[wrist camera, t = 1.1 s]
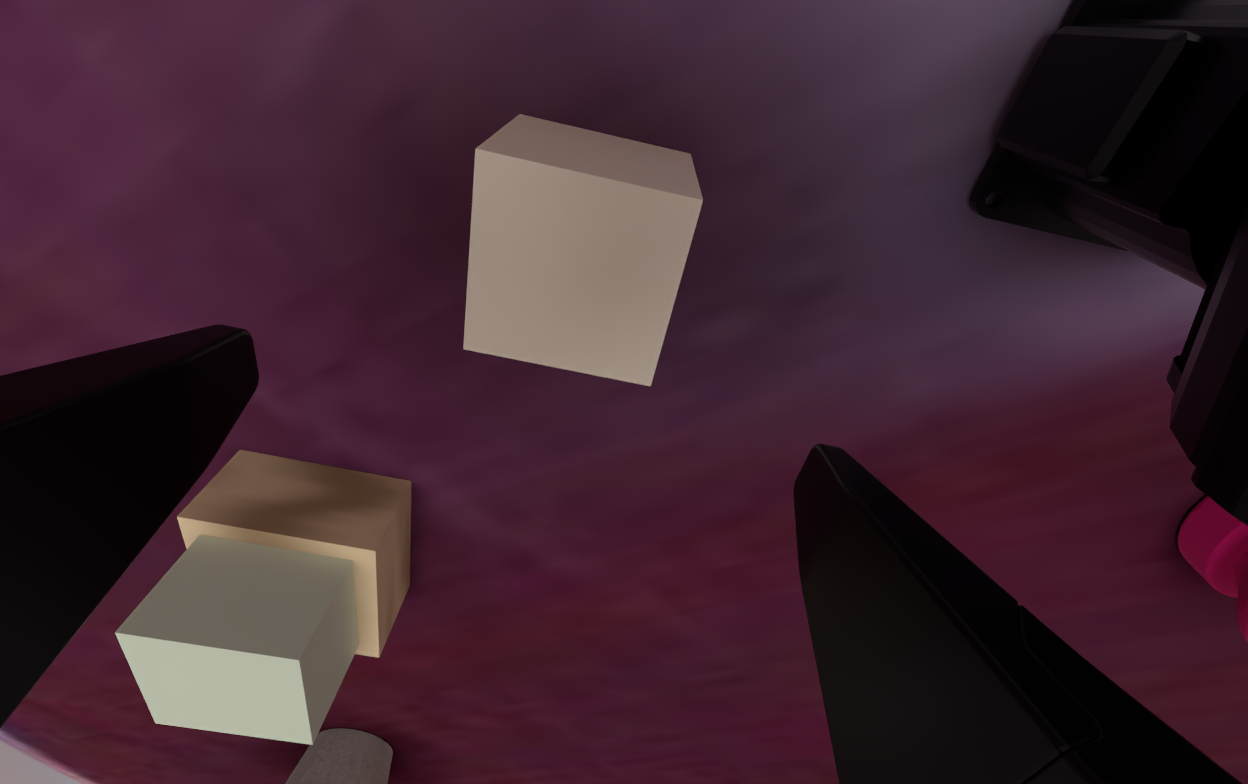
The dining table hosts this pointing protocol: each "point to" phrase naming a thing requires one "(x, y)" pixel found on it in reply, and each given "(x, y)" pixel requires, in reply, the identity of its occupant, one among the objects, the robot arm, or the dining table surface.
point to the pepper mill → (1218, 552)
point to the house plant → (344, 759)
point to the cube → (577, 248)
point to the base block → (317, 525)
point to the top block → (244, 639)
